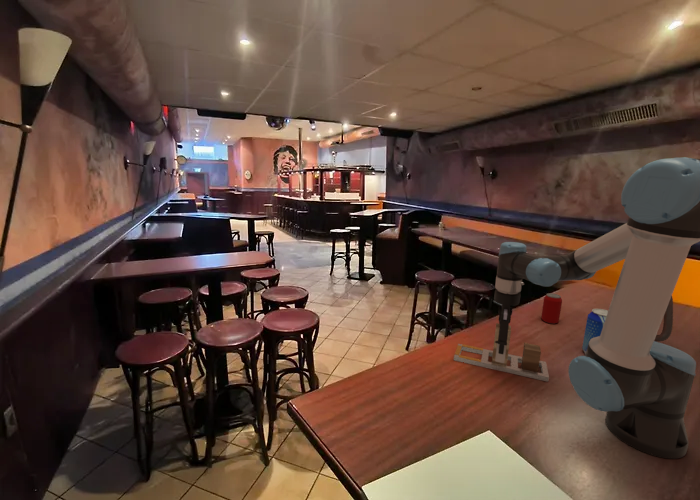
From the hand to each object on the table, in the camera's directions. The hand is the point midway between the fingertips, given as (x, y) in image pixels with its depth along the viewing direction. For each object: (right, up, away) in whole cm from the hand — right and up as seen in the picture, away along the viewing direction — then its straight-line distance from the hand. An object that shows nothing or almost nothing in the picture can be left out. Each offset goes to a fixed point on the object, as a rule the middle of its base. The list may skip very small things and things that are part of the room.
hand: (500, 354), depth 114 cm
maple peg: (0, -3, +1) cm, 3 cm away
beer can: (+37, -3, +8) cm, 38 cm away
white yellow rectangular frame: (0, -3, +1) cm, 3 cm away
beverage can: (+37, +3, +36) cm, 52 cm away
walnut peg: (+8, -4, -3) cm, 10 cm away
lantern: (+60, -1, +17) cm, 63 cm away
